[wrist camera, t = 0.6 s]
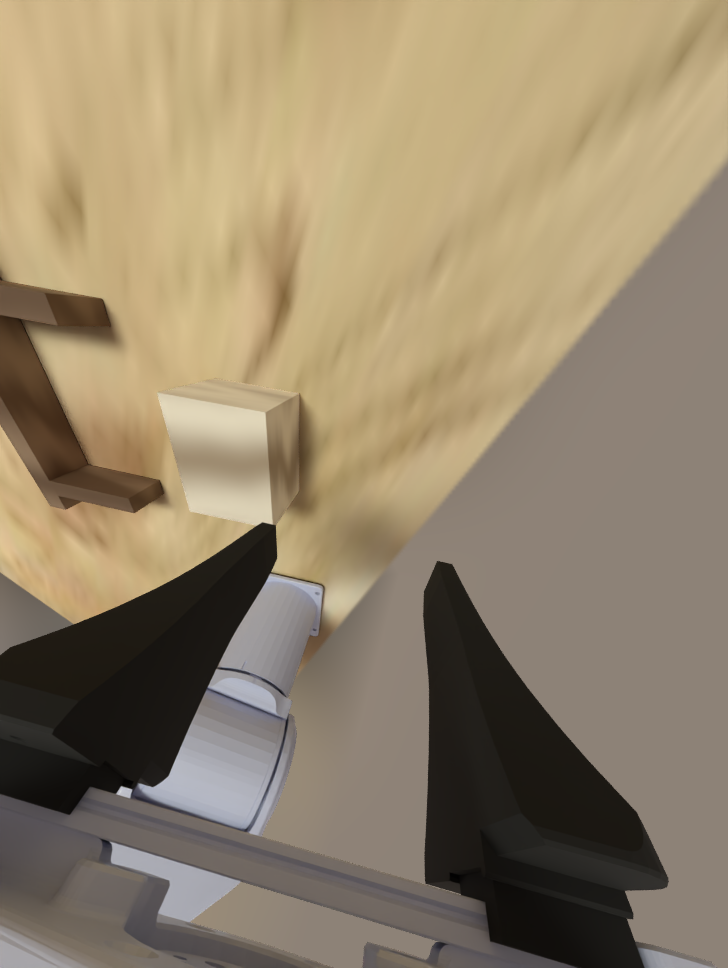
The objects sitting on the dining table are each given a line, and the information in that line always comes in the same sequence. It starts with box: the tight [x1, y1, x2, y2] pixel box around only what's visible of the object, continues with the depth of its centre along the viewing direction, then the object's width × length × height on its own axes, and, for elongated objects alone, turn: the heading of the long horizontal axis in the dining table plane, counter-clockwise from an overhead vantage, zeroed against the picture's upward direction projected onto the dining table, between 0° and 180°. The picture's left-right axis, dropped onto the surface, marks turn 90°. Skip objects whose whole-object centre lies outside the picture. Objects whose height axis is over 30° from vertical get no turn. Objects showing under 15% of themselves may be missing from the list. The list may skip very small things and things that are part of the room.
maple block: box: [157, 378, 300, 526], centre depth 18 cm, size 8×6×5 cm
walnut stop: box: [0, 278, 163, 513], centre depth 19 cm, size 18×8×3 cm, turn 171°
